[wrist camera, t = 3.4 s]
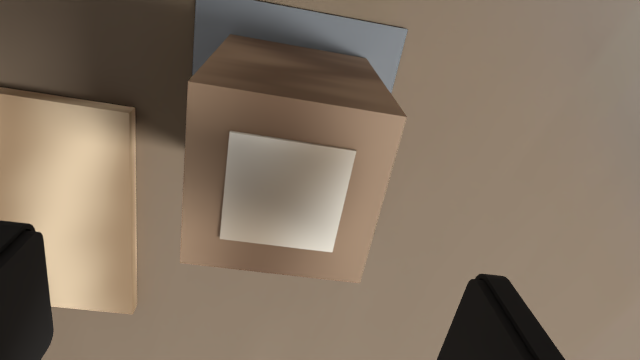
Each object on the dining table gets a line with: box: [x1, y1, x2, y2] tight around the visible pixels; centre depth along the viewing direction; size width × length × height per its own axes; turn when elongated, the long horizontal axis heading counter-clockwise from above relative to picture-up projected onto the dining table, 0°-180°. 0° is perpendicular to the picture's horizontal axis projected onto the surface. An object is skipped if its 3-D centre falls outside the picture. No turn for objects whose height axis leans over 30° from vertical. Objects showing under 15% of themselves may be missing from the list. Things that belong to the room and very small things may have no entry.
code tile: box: [192, 0, 408, 93], centre depth 20 cm, size 9×9×1 cm
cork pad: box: [0, 87, 137, 314], centre depth 21 cm, size 12×12×1 cm
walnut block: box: [180, 34, 407, 283], centre depth 17 cm, size 6×6×8 cm
